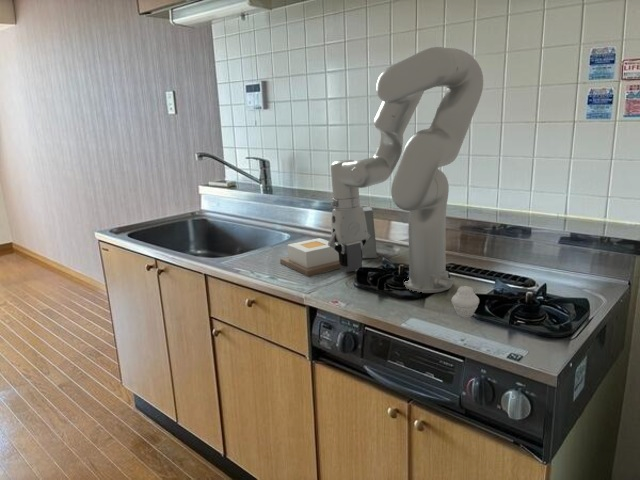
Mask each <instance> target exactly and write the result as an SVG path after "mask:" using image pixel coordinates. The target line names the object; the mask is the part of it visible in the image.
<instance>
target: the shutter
mask: <svg viewBox="0 0 640 480" xmlns="http://www.w3.org/2000/svg"><path fill="white" fill-rule="evenodd" d="M323 245H324V244H321V243H318V242H313V243H308V244H303V245H302V246H304V247H307V248H314V247H318V246H323Z"/></svg>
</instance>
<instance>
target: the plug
mask: <svg viewBox="0 0 640 480" xmlns="http://www.w3.org/2000/svg"><path fill="white" fill-rule="evenodd" d="M345 253H346V254H347V267H344V266H342V265H341V268H340V269H342V270H344V271H346V272H349V273H350V272H353V271H358V270H359V269H358V268H360V267H362V268H363V258H362V257H361V241H357V242H353V243H349V244H346V248H345Z"/></svg>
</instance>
